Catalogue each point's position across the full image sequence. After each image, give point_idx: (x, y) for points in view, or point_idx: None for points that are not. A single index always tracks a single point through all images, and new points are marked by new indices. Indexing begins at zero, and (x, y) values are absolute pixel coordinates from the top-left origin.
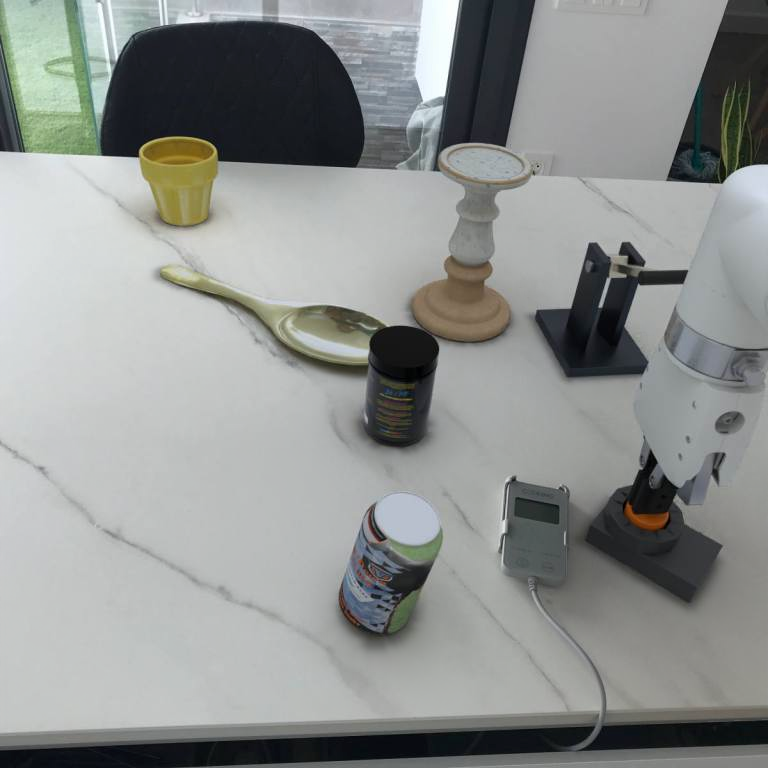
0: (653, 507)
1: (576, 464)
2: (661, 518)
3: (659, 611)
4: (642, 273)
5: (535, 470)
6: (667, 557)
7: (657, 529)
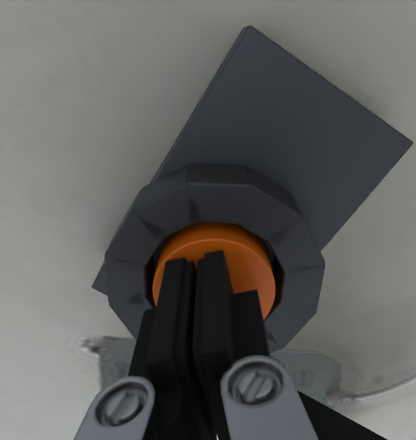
0: (267, 340)
1: (8, 318)
2: (245, 263)
3: (405, 198)
4: None
5: (60, 387)
6: (313, 205)
7: (267, 258)
